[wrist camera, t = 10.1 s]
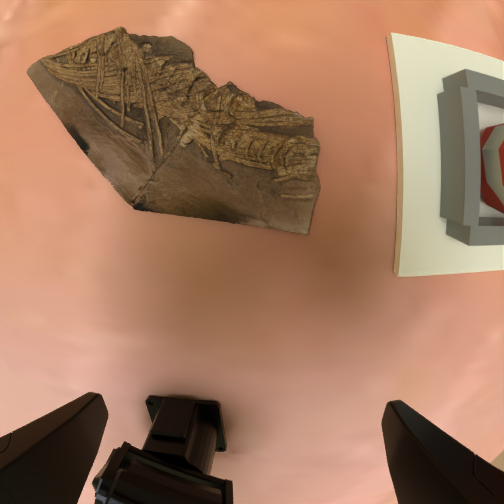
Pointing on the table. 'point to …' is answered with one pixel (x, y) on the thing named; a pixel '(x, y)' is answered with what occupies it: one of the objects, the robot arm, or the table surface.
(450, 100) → the can holder
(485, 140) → the beverage can
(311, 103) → the table surface
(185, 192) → the brown fossil slab
